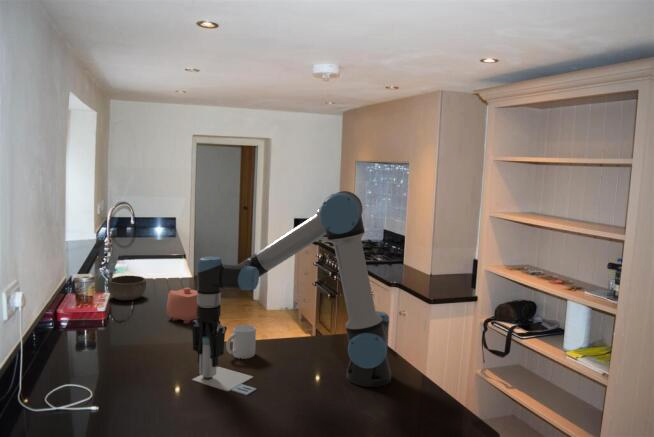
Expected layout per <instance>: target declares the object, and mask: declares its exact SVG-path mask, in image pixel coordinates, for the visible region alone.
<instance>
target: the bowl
mask: <svg viewBox="0 0 654 437" xmlns="http://www.w3.org/2000/svg"><path fill="white" fill-rule="evenodd" d="M146 288H147V281H146V278H145V277H143V276H140V275H120V276H115V277H112V278H110V279H109V281H108V290H109V293H110V294H111V296H112V297H113V298H114V299H115V300H118V301H123V302H124V301H133V300H137V299H140V298H141V297H142V296H143V295H144V293H145V292H146Z"/></svg>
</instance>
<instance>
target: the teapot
mask: <svg viewBox="0 0 654 437" xmlns="http://www.w3.org/2000/svg"><path fill="white" fill-rule="evenodd" d="M167 294H168V296H167V303H166V314H167V315H166V316H168V317H170V318H172V319H171V320H172V321H175V322H176V321H179V320H182V321H183V324H188V325H189V324H191V321H194V320H197V319H198V317H197V306H198V304H197V290H195V289H191V287H184V288H181V289H178V290H169V291H168V293H167Z"/></svg>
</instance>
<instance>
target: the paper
mask: <svg viewBox="0 0 654 437" xmlns="http://www.w3.org/2000/svg"><path fill="white" fill-rule="evenodd" d="M253 378H254V376H253V375H250V374H246V373H242V372H238V371H236V370H235V371H234V370H231V369H229V368H224V367H221V366H216V375H214V376H212V379H210V380H204V379H203V376H202V374H199V375H198V376H195V377H193V378H192V379H191V381H193V382H196V383H198V384H202V385H206V386H209V387H212V388H216V389H218V390H222V391H224V392H230V391H231V390H232V389H233V388H235V387H237V386H239V385H240V384H244V383H246V382H248V381H250V380H251V379H253Z"/></svg>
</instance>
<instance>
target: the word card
mask: <svg viewBox="0 0 654 437" xmlns="http://www.w3.org/2000/svg"><path fill="white" fill-rule="evenodd" d="M230 391H232V392H234V393H237V394H240V395H244V396H248V395H250V394H252V393H253V392H255V391H257V388H256V387H253V386H249V385H247V384H244V383H242V384H240V385H239V386H237V387H235V388H233V389H232V390H230Z"/></svg>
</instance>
